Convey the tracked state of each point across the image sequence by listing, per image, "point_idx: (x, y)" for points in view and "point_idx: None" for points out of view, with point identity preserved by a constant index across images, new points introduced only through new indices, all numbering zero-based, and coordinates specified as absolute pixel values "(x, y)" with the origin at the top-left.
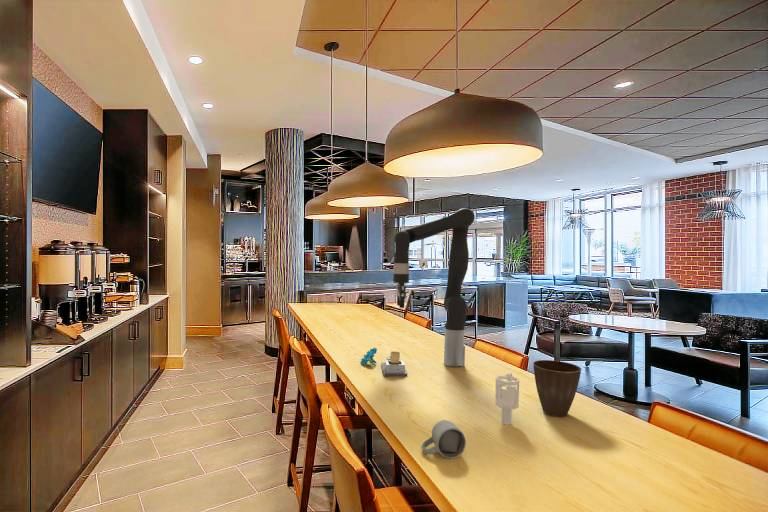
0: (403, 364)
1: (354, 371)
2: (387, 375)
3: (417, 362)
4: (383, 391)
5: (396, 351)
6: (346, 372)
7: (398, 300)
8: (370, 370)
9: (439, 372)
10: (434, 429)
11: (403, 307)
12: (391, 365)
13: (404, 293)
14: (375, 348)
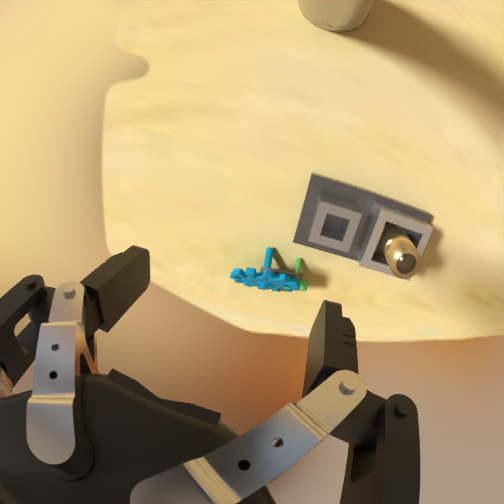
0: (426, 230)
1: None
2: None
3: (281, 104)
4: (478, 304)
5: (397, 254)
6: None
7: (120, 308)
8: (338, 285)
9: (416, 93)
10: None
11: (337, 308)
12: None
13: (410, 471)
14: (265, 276)
